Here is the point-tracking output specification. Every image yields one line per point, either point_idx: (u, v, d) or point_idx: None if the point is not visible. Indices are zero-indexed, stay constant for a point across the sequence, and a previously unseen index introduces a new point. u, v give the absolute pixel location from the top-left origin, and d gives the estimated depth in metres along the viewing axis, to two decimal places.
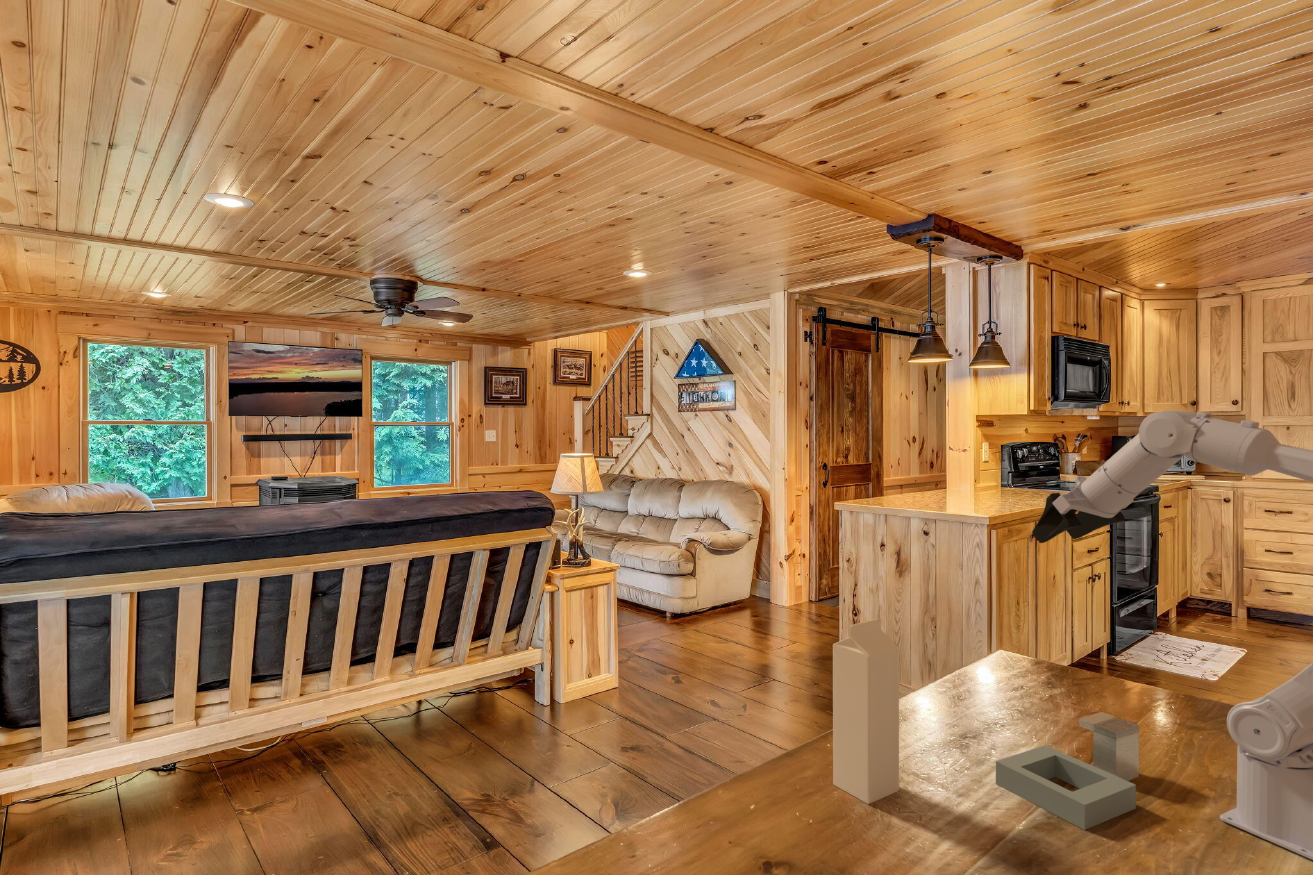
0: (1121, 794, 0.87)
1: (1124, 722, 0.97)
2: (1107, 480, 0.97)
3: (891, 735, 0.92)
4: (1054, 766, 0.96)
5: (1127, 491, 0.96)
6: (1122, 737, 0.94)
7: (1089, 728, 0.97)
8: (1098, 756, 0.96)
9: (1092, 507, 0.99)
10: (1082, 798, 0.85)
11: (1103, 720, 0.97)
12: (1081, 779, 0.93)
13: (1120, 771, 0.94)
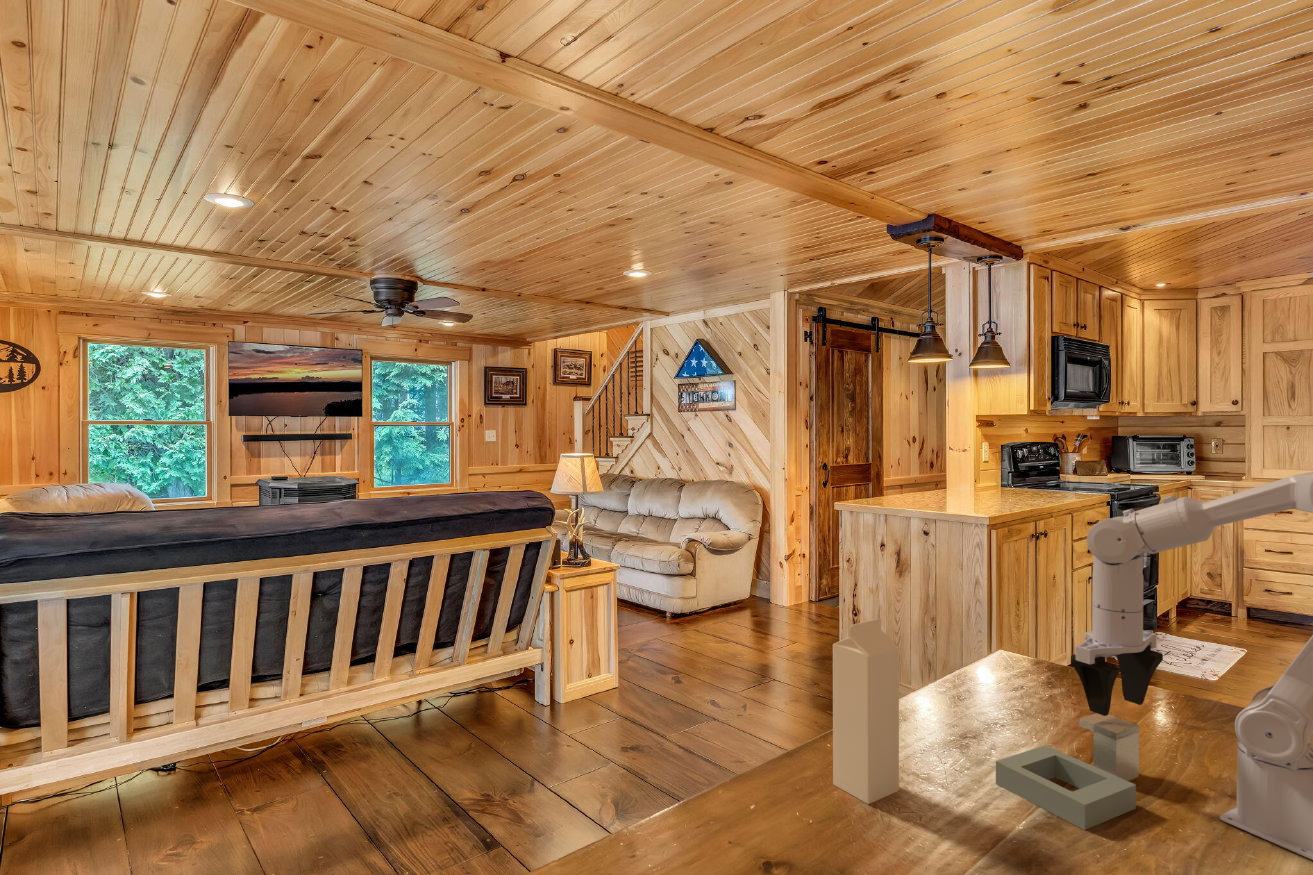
0: (1121, 794, 0.87)
1: (1124, 722, 0.97)
2: (1104, 612, 0.94)
3: (891, 735, 0.92)
4: (1054, 766, 0.96)
5: (1128, 612, 0.93)
6: (1122, 737, 0.94)
7: (1089, 728, 0.97)
8: (1098, 756, 0.96)
9: (1115, 647, 0.93)
10: (1082, 798, 0.85)
11: (1104, 720, 0.97)
12: (1081, 779, 0.93)
13: (1120, 771, 0.94)
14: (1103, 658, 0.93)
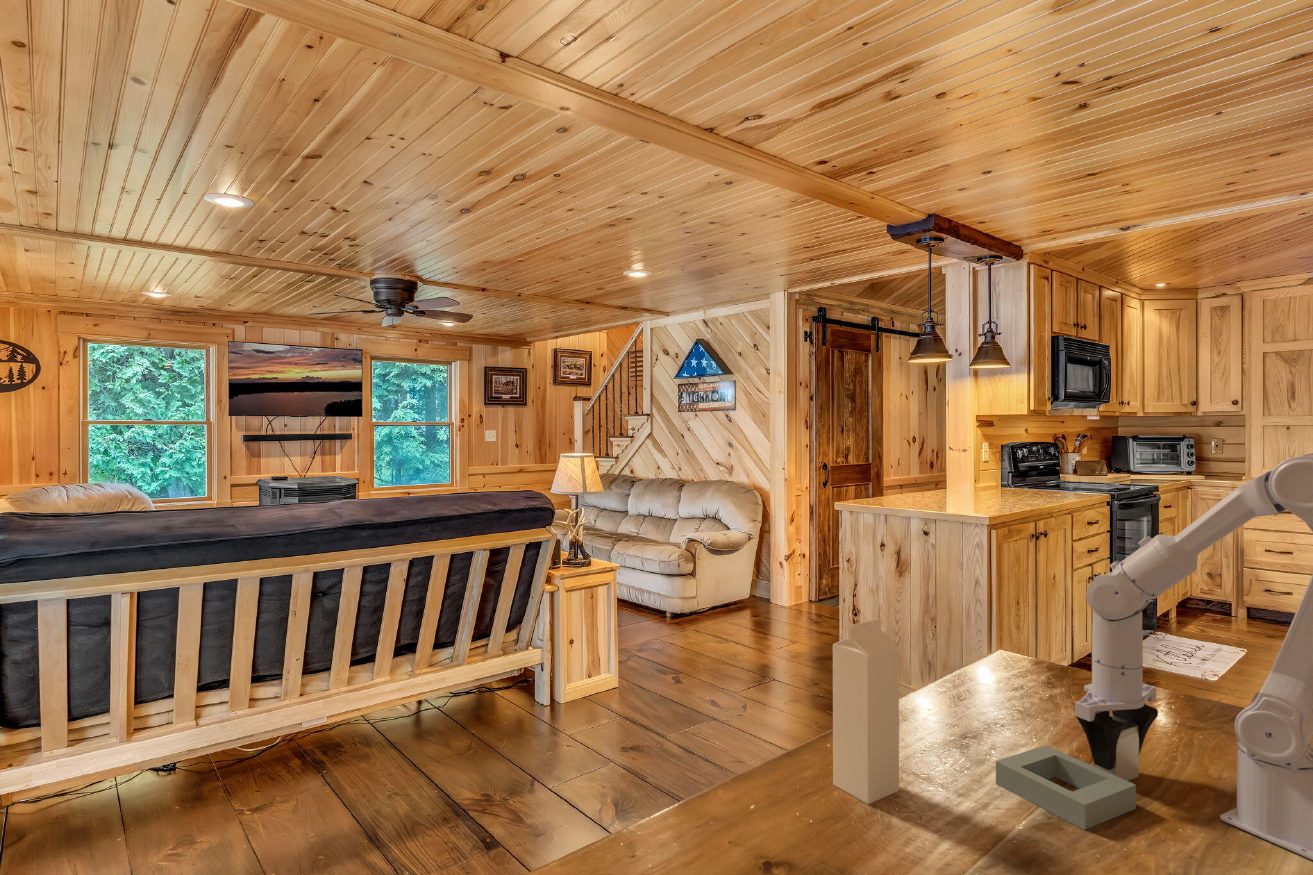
0: (1121, 794, 0.87)
1: (1124, 722, 0.97)
2: (1103, 668, 0.94)
3: (891, 735, 0.92)
4: (1054, 766, 0.96)
5: (1127, 669, 0.93)
6: (1122, 737, 0.94)
7: None
8: None
9: (1114, 703, 0.93)
10: (1082, 798, 0.85)
11: None
12: (1081, 779, 0.93)
13: (1120, 771, 0.94)
14: (1103, 714, 0.93)
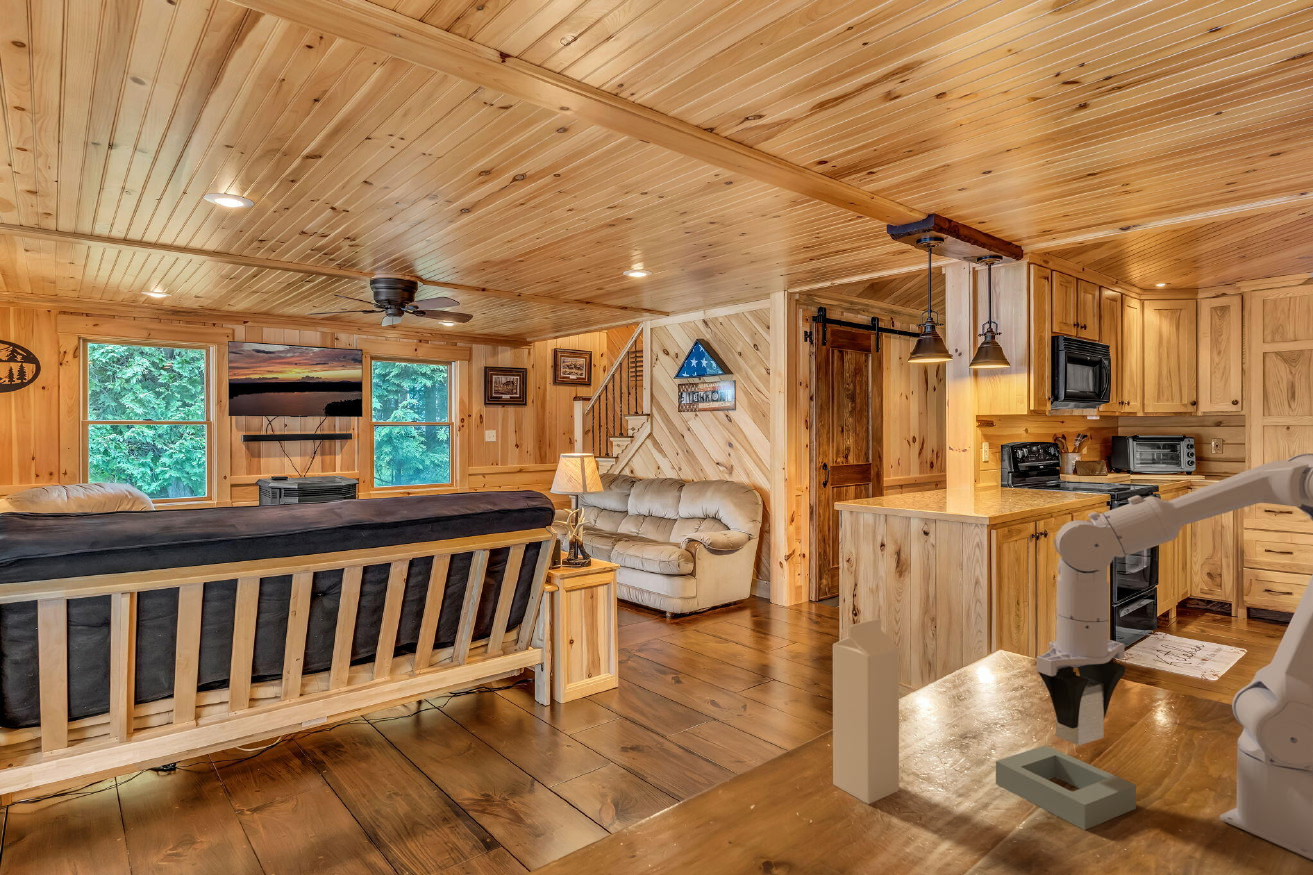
0: (1121, 794, 0.87)
1: (1089, 680, 0.92)
2: (1067, 621, 0.90)
3: (891, 735, 0.92)
4: (1054, 766, 0.96)
5: (1092, 621, 0.88)
6: (1085, 695, 0.90)
7: None
8: None
9: (1078, 658, 0.89)
10: (1082, 798, 0.85)
11: None
12: (1081, 779, 0.93)
13: (1083, 731, 0.90)
14: (1066, 669, 0.89)
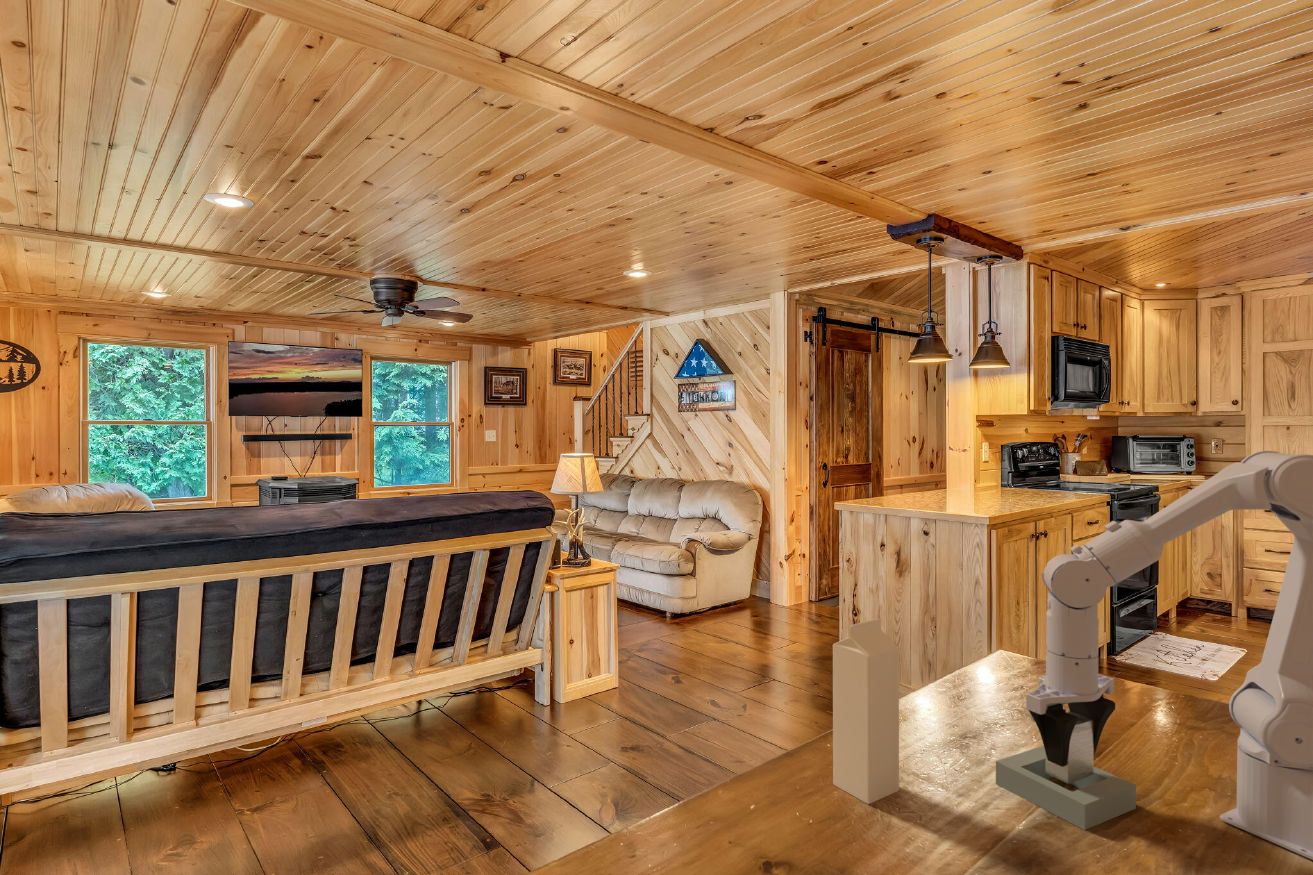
0: (1121, 794, 0.87)
1: (1079, 716, 0.91)
2: (1057, 658, 0.89)
3: (891, 735, 0.92)
4: None
5: (1082, 658, 0.87)
6: (1074, 732, 0.88)
7: None
8: None
9: (1068, 695, 0.88)
10: (1082, 798, 0.85)
11: None
12: (1081, 779, 0.93)
13: (1072, 768, 0.88)
14: (1055, 707, 0.87)
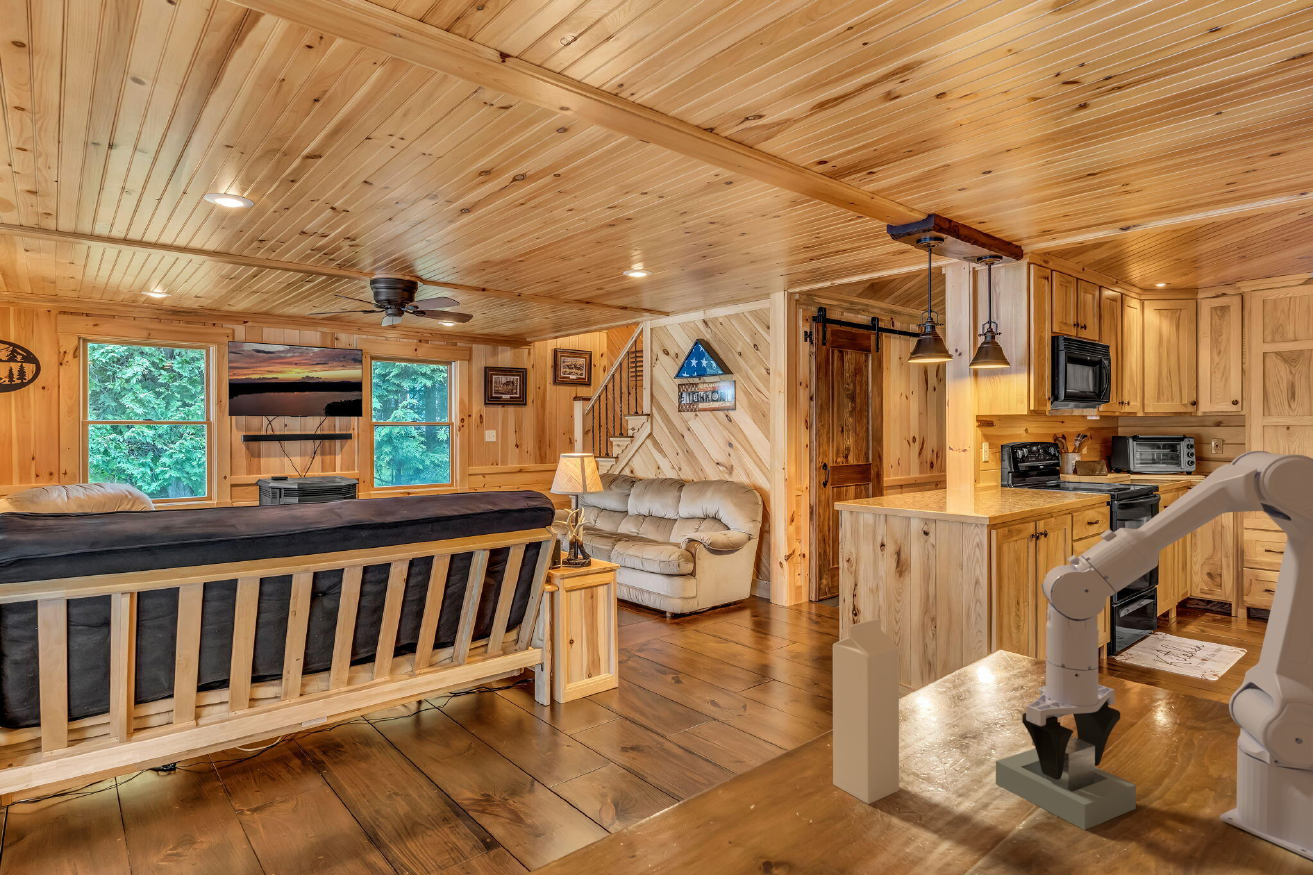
0: (1121, 794, 0.87)
1: (1080, 742, 0.91)
2: (1057, 669, 0.89)
3: (891, 735, 0.92)
4: None
5: (1082, 670, 0.87)
6: (1075, 758, 0.88)
7: None
8: (1050, 778, 0.90)
9: (1068, 706, 0.88)
10: (1082, 798, 0.85)
11: None
12: None
13: None
14: (1055, 718, 0.88)
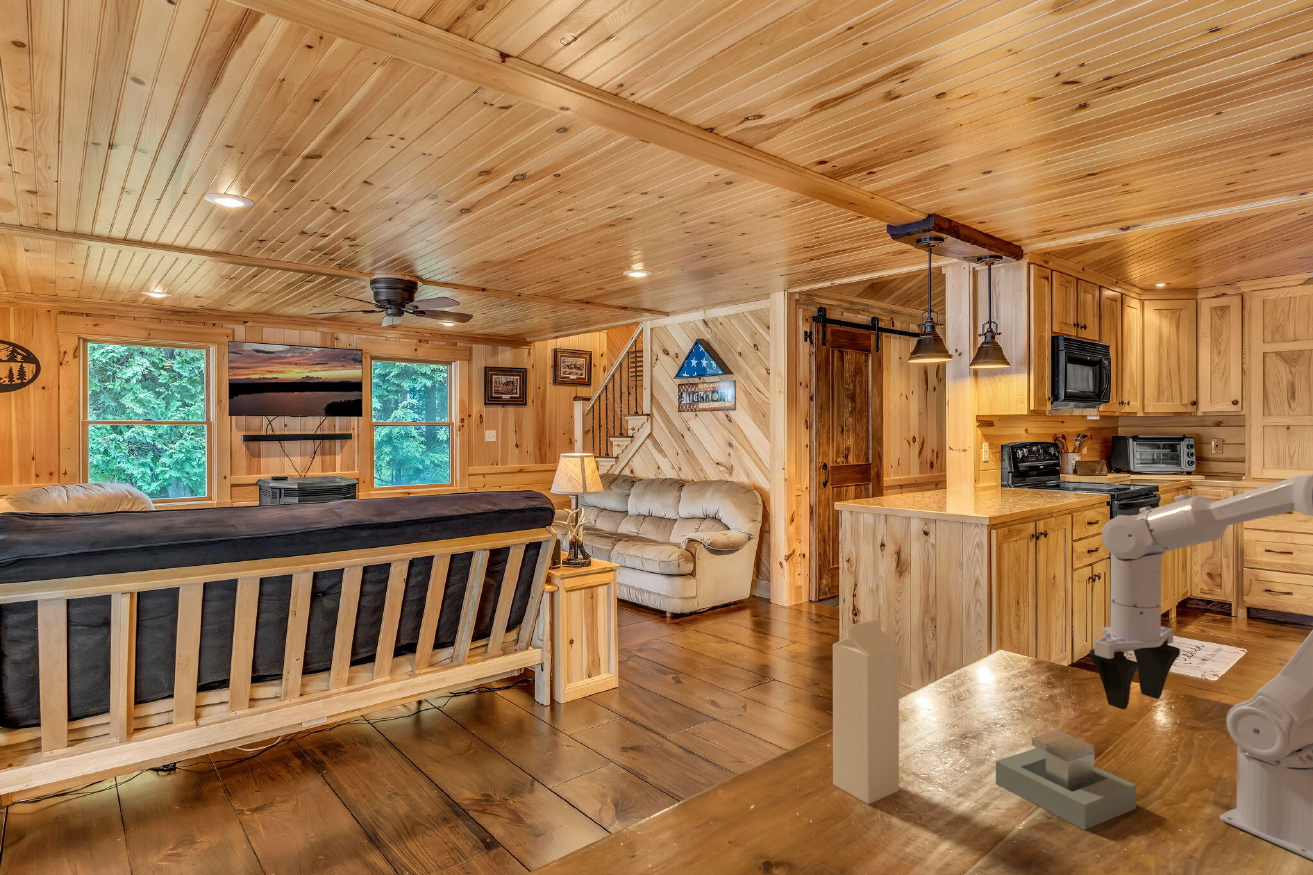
0: (1121, 794, 0.87)
1: (1079, 742, 0.91)
2: (1122, 608, 0.96)
3: (891, 735, 0.92)
4: None
5: (1146, 608, 0.94)
6: (1075, 758, 0.89)
7: (1041, 748, 0.91)
8: (1050, 778, 0.90)
9: (1133, 642, 0.95)
10: (1082, 798, 0.85)
11: (1057, 739, 0.92)
12: None
13: None
14: (1122, 653, 0.95)
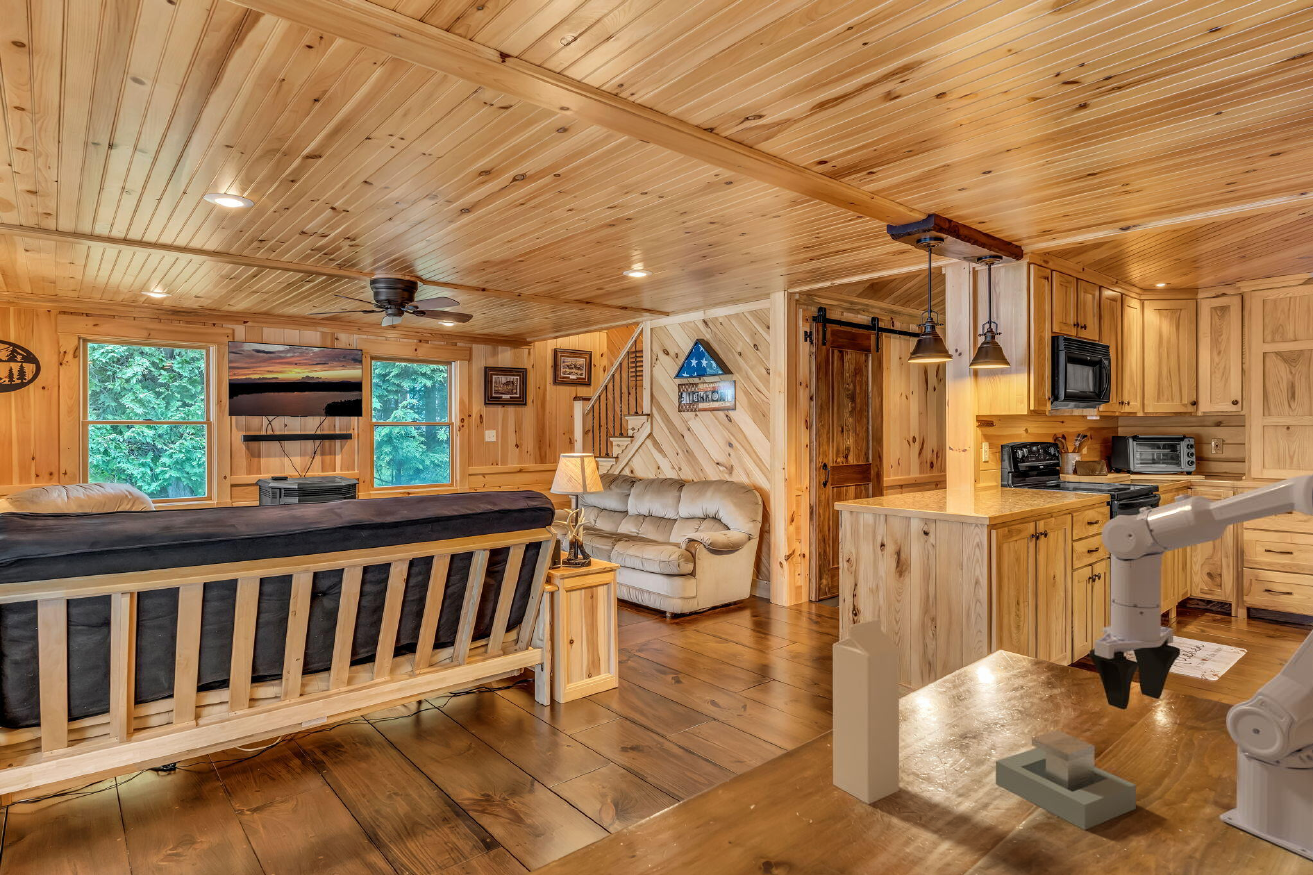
0: (1121, 794, 0.87)
1: (1079, 742, 0.91)
2: (1122, 608, 0.96)
3: (891, 735, 0.92)
4: None
5: (1146, 608, 0.94)
6: (1075, 758, 0.89)
7: (1041, 748, 0.91)
8: (1050, 778, 0.90)
9: (1133, 642, 0.95)
10: (1082, 798, 0.85)
11: (1057, 739, 0.92)
12: None
13: None
14: (1122, 653, 0.95)
